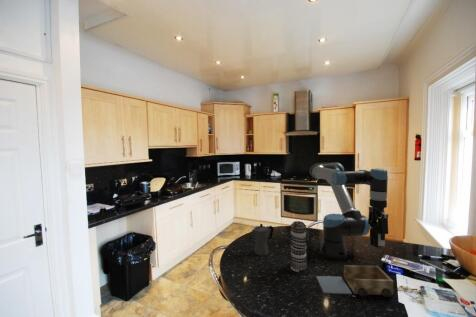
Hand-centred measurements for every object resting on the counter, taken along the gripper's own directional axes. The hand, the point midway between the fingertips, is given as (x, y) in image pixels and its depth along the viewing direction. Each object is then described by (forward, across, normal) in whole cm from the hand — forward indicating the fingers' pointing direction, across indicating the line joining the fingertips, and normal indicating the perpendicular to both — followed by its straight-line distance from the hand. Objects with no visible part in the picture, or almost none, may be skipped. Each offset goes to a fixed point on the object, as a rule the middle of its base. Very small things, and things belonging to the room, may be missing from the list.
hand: (377, 242), depth 115 cm
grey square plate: (+14, -14, +21) cm, 29 cm away
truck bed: (+15, -14, +12) cm, 24 cm away
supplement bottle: (+2, 0, 0) cm, 2 cm away
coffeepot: (+15, +18, +59) cm, 63 cm away
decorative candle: (+15, +1, +40) cm, 43 cm away
